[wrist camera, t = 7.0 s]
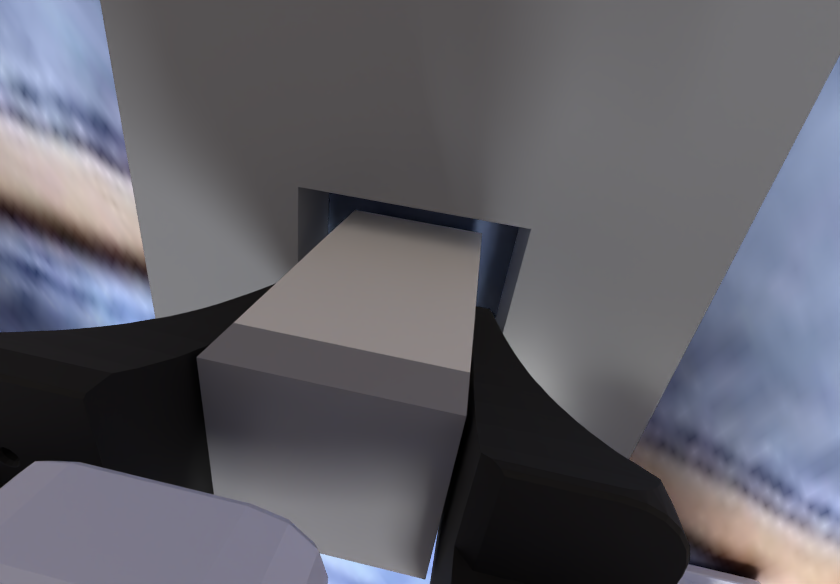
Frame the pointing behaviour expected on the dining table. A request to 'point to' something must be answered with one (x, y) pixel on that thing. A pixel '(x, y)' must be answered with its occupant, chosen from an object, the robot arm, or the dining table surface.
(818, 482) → the dining table surface
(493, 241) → the dining table surface
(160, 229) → the socket
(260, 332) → the plug
